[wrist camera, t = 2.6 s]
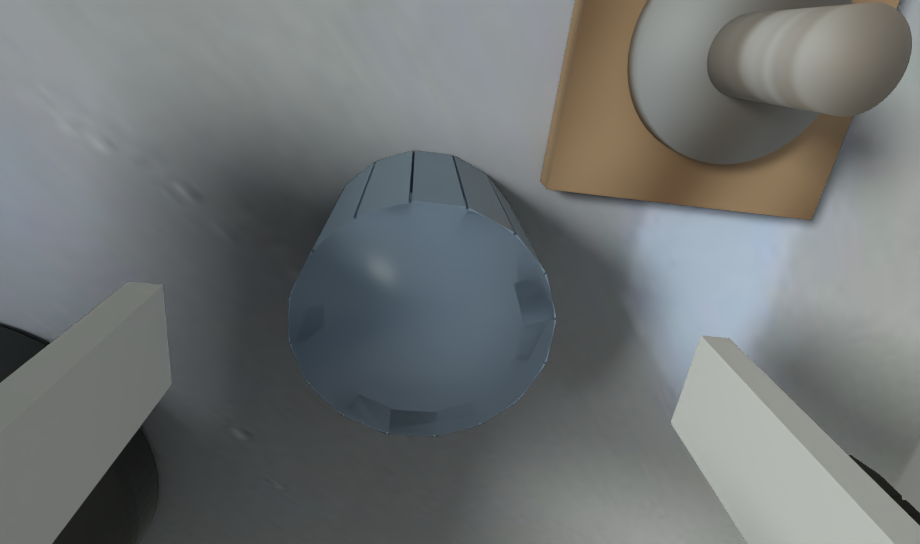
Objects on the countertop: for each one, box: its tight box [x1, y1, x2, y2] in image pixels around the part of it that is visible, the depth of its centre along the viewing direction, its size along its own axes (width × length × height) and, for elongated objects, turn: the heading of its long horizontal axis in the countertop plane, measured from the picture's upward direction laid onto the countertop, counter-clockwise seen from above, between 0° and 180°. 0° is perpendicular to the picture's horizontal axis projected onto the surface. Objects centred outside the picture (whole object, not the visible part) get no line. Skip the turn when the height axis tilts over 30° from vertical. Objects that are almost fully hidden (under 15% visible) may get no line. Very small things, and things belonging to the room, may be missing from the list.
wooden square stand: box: [540, 0, 912, 220], centre depth 15 cm, size 10×10×7 cm
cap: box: [288, 151, 556, 437], centre depth 17 cm, size 7×7×6 cm
